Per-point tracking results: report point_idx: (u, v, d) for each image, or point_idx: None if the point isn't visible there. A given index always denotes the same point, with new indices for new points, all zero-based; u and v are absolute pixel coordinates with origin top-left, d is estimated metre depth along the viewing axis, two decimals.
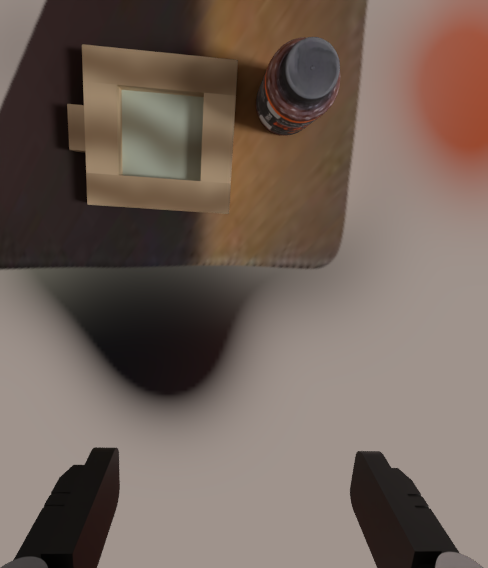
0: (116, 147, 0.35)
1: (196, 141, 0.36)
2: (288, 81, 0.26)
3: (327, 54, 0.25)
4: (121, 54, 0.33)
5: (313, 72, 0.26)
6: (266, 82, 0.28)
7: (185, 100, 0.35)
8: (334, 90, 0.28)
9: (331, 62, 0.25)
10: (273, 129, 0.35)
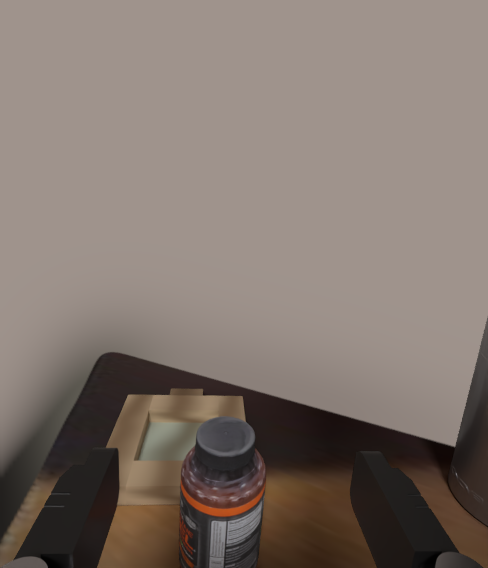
0: (171, 409, 0.42)
1: None
2: None
3: (240, 443, 0.23)
4: (240, 412, 0.42)
5: (222, 433, 0.24)
6: None
7: None
8: (214, 487, 0.23)
9: (233, 446, 0.23)
10: None
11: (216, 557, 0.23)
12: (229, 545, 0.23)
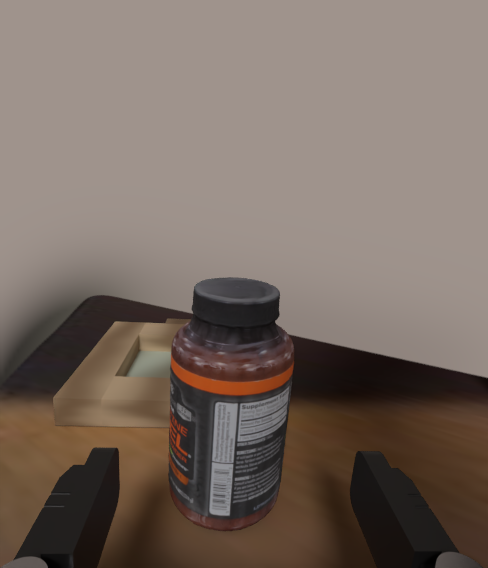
0: (166, 334, 0.34)
1: None
2: (217, 278, 0.18)
3: (259, 293, 0.16)
4: None
5: (231, 286, 0.17)
6: None
7: None
8: (220, 352, 0.15)
9: (249, 295, 0.15)
10: None
11: (222, 464, 0.16)
12: (241, 444, 0.15)
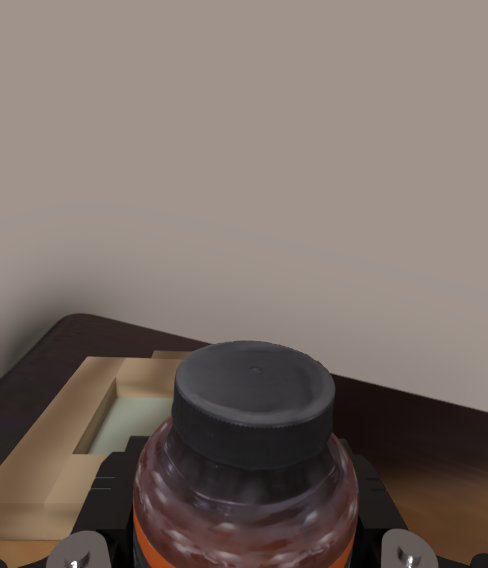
0: (151, 376, 0.27)
1: None
2: None
3: (300, 392, 0.08)
4: None
5: (245, 370, 0.09)
6: None
7: None
8: (225, 523, 0.07)
9: (282, 400, 0.08)
10: None
11: None
12: None
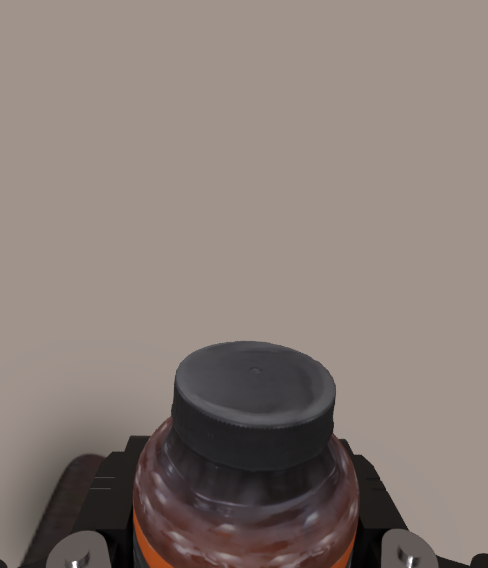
0: None
1: None
2: (217, 344, 0.11)
3: (301, 392, 0.08)
4: None
5: (245, 371, 0.09)
6: None
7: None
8: (225, 525, 0.07)
9: (283, 401, 0.08)
10: None
11: None
12: None
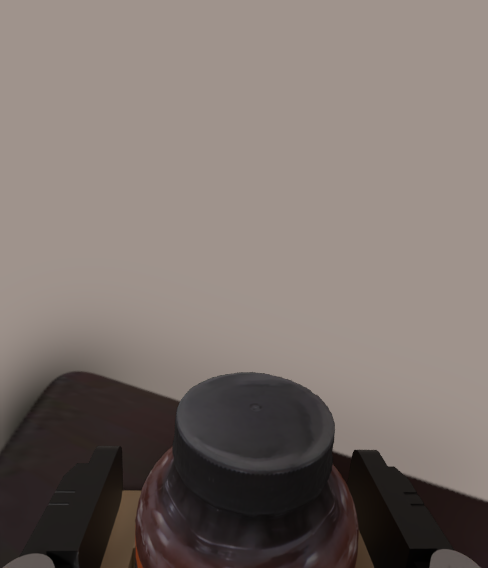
0: None
1: None
2: (217, 376, 0.11)
3: (300, 433, 0.08)
4: None
5: (245, 408, 0.09)
6: None
7: None
8: None
9: (282, 443, 0.08)
10: None
11: None
12: None
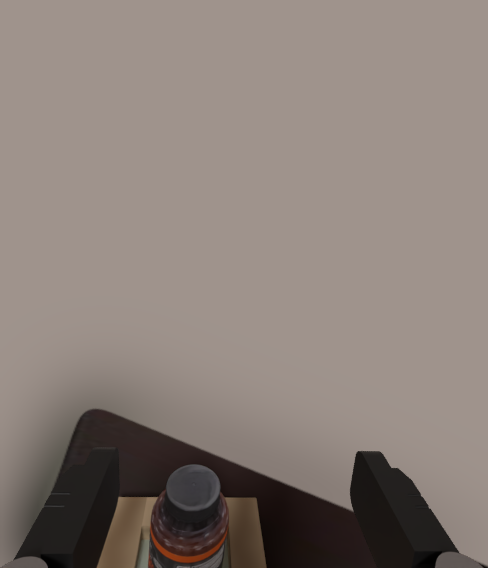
0: None
1: None
2: (181, 467, 0.28)
3: (206, 496, 0.26)
4: (255, 530, 0.34)
5: (190, 485, 0.26)
6: None
7: None
8: (180, 537, 0.25)
9: (199, 500, 0.25)
10: None
11: None
12: None
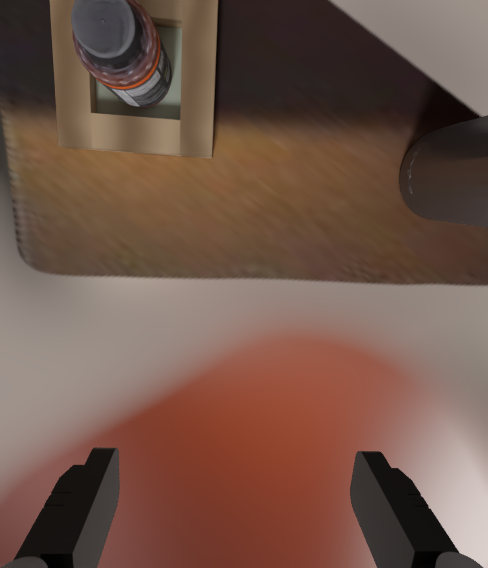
0: None
1: (139, 112, 0.34)
2: None
3: (118, 40, 0.23)
4: (211, 29, 0.32)
5: (98, 22, 0.23)
6: None
7: (177, 101, 0.34)
8: (104, 72, 0.25)
9: (111, 45, 0.23)
10: None
11: (127, 98, 0.30)
12: (133, 96, 0.29)
